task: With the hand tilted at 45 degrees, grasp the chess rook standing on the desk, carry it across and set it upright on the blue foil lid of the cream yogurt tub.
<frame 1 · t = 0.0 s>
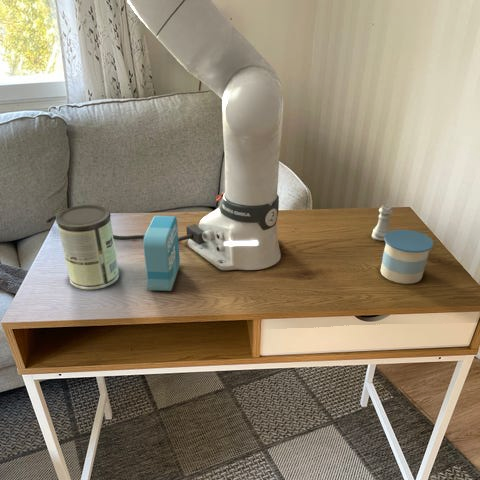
yogurt tub: (401, 273, 109), on the table
rook chess piece: (380, 238, 122), on the table
coffee can: (94, 278, 106), on the table
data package: (165, 279, 106), on the table
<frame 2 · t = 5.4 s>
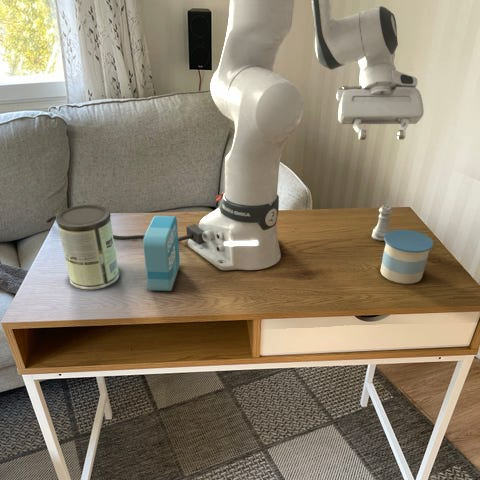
hand: (381, 138, 121), 20 cm above the table, tool tilted 45°, fingers open, 8 cm apart
nothing on the table moved.
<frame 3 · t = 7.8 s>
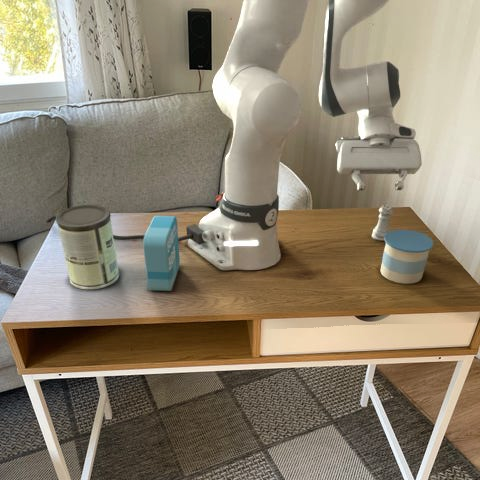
hand: (380, 189, 122), 10 cm above the table, tool tilted 45°, fingers open, 8 cm apart
nothing on the table moved.
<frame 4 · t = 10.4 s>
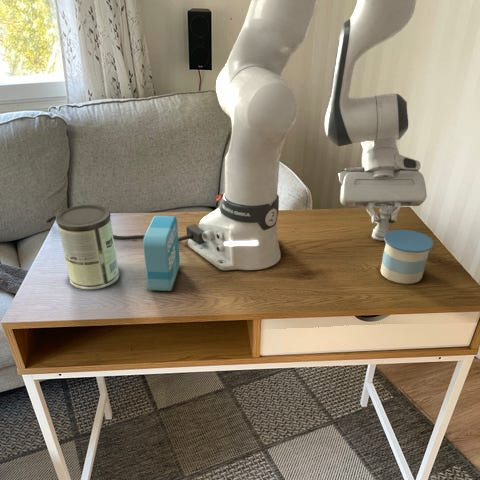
hand: (384, 222, 119), 4 cm above the table, tool tilted 45°, fingers closed on rook chess piece, 3 cm apart
rook chess piece: (380, 238, 122), on the table, touching gripper
everything else where it was.
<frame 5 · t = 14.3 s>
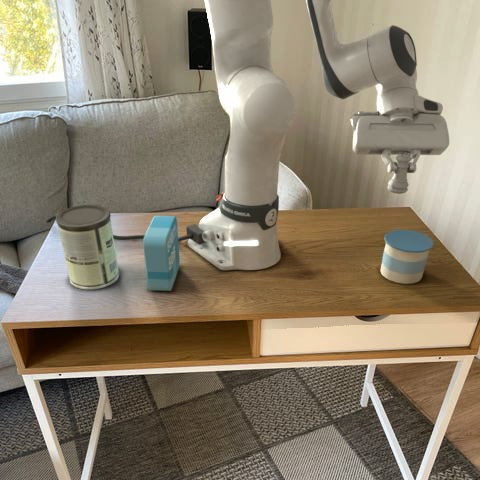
hand: (402, 171, 107), 18 cm above the table, tool tilted 45°, fingers closed on rook chess piece, 3 cm apart
rook chess piece: (396, 191, 110), point 14 cm above the table, touching gripper
everything else where it was.
when the fingers open (12 cm above the table, at t = 18.2 s): rook chess piece stays where it is, resting on yogurt tub.
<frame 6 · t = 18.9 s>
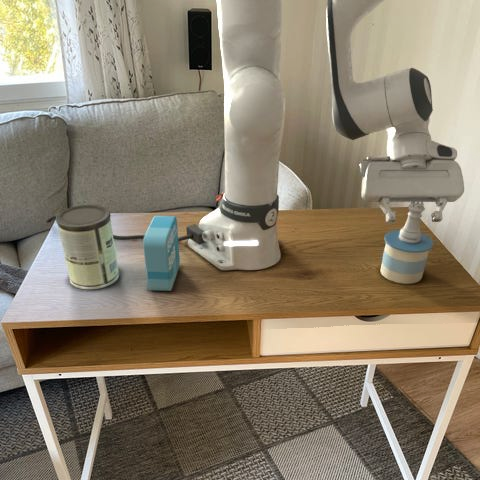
hand: (414, 221, 101), 12 cm above the table, tool tilted 45°, fingers open, 8 cm apart
yogurt tub: (401, 273, 109), on the table, touching rook chess piece
rook chess piece: (408, 240, 104), point 8 cm above the table, touching yogurt tub
everything else where it was.
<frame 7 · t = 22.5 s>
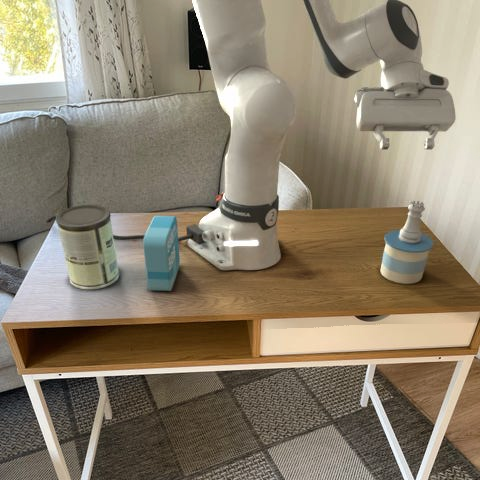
hand: (407, 148, 104), 23 cm above the table, tool tilted 45°, fingers open, 8 cm apart
nothing on the table moved.
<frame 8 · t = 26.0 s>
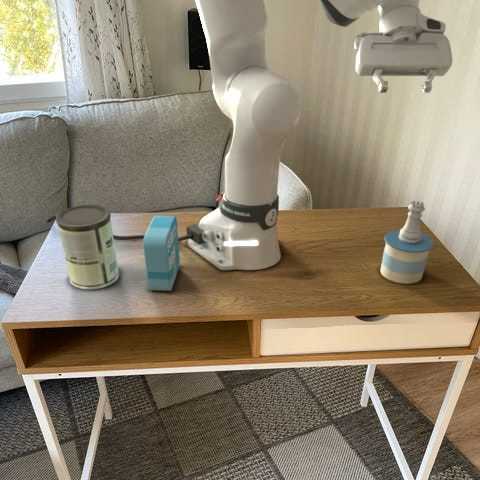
hand: (405, 91, 107), 32 cm above the table, tool tilted 45°, fingers open, 8 cm apart
nothing on the table moved.
at the end: rook chess piece 0.1 cm off-centre on the yogurt tub, point 7.8 cm above the yogurt tub's base; rook chess piece tilted 0°; the gripper is holding nothing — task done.
